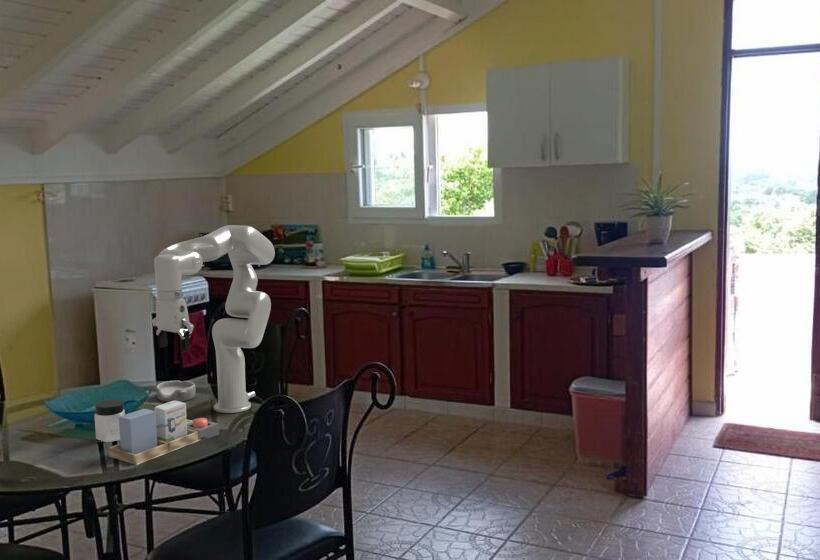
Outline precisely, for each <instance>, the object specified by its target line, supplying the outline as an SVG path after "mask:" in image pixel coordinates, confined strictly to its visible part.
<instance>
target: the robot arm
mask: <svg viewBox="0 0 820 560" xmlns="http://www.w3.org/2000/svg"><path fill="white" fill-rule="evenodd" d="M275 253H276V251H275V246H274V245H273V243H272V241H271V240H269V239H268V238H267V237H266V236H265V235H263V234H262V232H260V231H259V230H257V228H254V227H253V226H249V225H239V224H238V225H235V224H234V225H233V224H231V225H230V224H228V225H224V226H222V227H219V228H218V229H217V228H216V229H215V230H214V231H212V232H209V233H208V234H206V235H203V236H200V237H195V238H192V239H188V240H184V241H180V242H177V243H174V244H172V245H169V246H168V247H166V248H164V249H162V250H161V251H160V252H159V253H158V255H156V256H155V257H154V265H153V266H154V275H155V277H154V278H155V285H156V286H155V288H156V305H155V306H156V307H155V317H154V318H153V319H151V324H152V326H153V330H154V331H155V334H156V336H157V340H158V341H157V342H158V343H157V344H158V348H159V349H162V348H165V347H168V345H169V344H168V343H169V341H168V333H166V332H170V333H177V334H178V335H179V337H180V339H179V342H180V343H179V344H180V352H182V353H185V352H186V351H187V352H188V351H189V350H191V345H190V343H191V342H190V338H191V336H192V334H193V331H194V327H195V326H194V324H193V323H191V322H190V316H189V311H188V306H187V303H186V299H185V298H184V293H183V284H182V283H183V282H182V277H183V276H190V275H195V274H197V273H198V272H200V270H201V269H202V267H203V263H205V262H206V263H207V262H211V261H215V260H217V259H220V258H221V257H223V256H224V255H226V254H228V257H229V262H231V266H232V271H233V278H232V282H231V285H230V289H229V292H228V294H227V297H226V301H225V306H224V307H225V312H226V314H227V315H229V316H231V317H235V318H230V317H229V318H228V317H227V318H226V317H225V318H221V319H218V320H217V321H216V322H214V324H213V325H212V329H211V336H212V340H213V344H214V349H215V360H216V377H217V379H216V380H217V381H216V382H217V399H218V400H217V402H216V403H215V404H214V405H213V410H214V411H216V412H217V413H222V414H235V413H241V412H244V411H247V410H249V409H250V408H251V406H252V403H251V402H250V401H249V400H250V399H251V398H254V397H256V392H255V391H249V392H247V391H246V390H247V388H246V362H245V355H244V352H243V350H242V349H241V348H243V349H255V348H257V347H258V346H259V345H260V344H261V343H262V340H263V337H264V334H265V330H266V328H267V324H268V321H269V318H270V313H271V309H272V308H271V307H272V302H271V298H270V296H269V295H268V294H267V293H266V292H264V291H259V290H257V287H258V281H259V280H258V276H257V273H256V271H255V269H254V268H253V266H252V265H263V266H264V265H265V266H266V265H268V264H271V263H272V262H273V260H274V259H275V256H276V254H275ZM240 318H241V319H240ZM242 318H244V319H242ZM245 318H246V319H245Z"/></svg>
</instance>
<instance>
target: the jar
mask: <svg viewBox="0 0 820 560" xmlns="http://www.w3.org/2000/svg"><path fill="white" fill-rule="evenodd" d="M94 410H95V414H94V426H95V427H94V428H95V438H96V439H98V440H101V441H100V442H102V441H103V442H104V443H113V442H115V441H120V429H119V416H122V415H126V412H125V408H124V402H123V401H122V400H119V399H108V400H102V401H99V402H97V403H95V404H94ZM96 439H95V440H96Z"/></svg>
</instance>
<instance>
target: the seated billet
mask: <svg viewBox="0 0 820 560" xmlns="http://www.w3.org/2000/svg"><path fill="white" fill-rule="evenodd" d="M119 429H120V440H119V444H121V450H122V451H126V452H129V453H133V454H138V453H141V452H144V451H146V450H149V449H152V448H154V447H157V429H156V412H155V411H154V410H152V409H147V408H141V409H138V410H135V411H133V412H129V413H125V415H122V416H119Z"/></svg>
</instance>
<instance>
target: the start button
mask: <svg viewBox="0 0 820 560" xmlns="http://www.w3.org/2000/svg"><path fill="white" fill-rule="evenodd" d="M192 421H193V427H195V428H199V429H200V428H203V427H206V426H208V423H207V421H208V418H206V417H198V418H197V417H196V418H194V419H192Z"/></svg>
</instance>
